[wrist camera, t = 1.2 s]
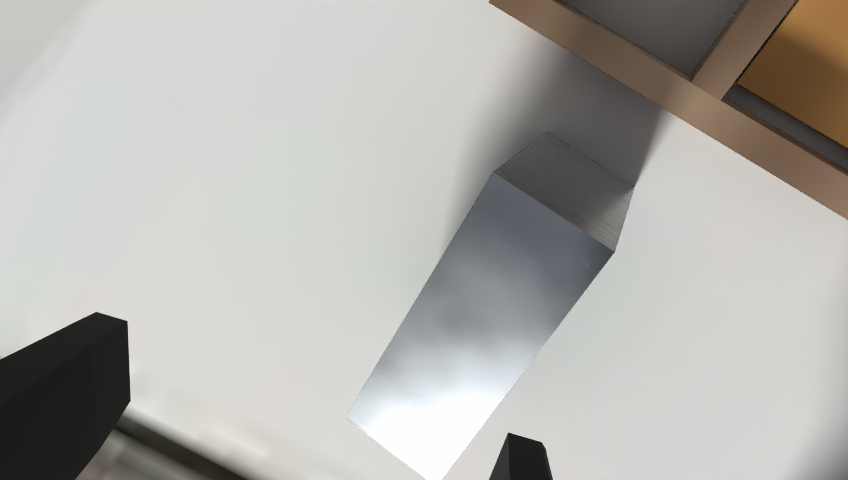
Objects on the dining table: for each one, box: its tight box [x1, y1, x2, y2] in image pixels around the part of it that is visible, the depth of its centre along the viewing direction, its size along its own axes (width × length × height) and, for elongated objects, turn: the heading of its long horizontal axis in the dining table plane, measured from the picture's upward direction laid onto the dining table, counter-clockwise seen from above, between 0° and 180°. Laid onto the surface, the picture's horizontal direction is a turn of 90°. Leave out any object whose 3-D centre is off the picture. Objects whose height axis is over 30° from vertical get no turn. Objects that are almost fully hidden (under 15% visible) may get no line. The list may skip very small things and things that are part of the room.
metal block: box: [345, 132, 634, 480], centre depth 18 cm, size 3×8×6 cm, turn 153°
